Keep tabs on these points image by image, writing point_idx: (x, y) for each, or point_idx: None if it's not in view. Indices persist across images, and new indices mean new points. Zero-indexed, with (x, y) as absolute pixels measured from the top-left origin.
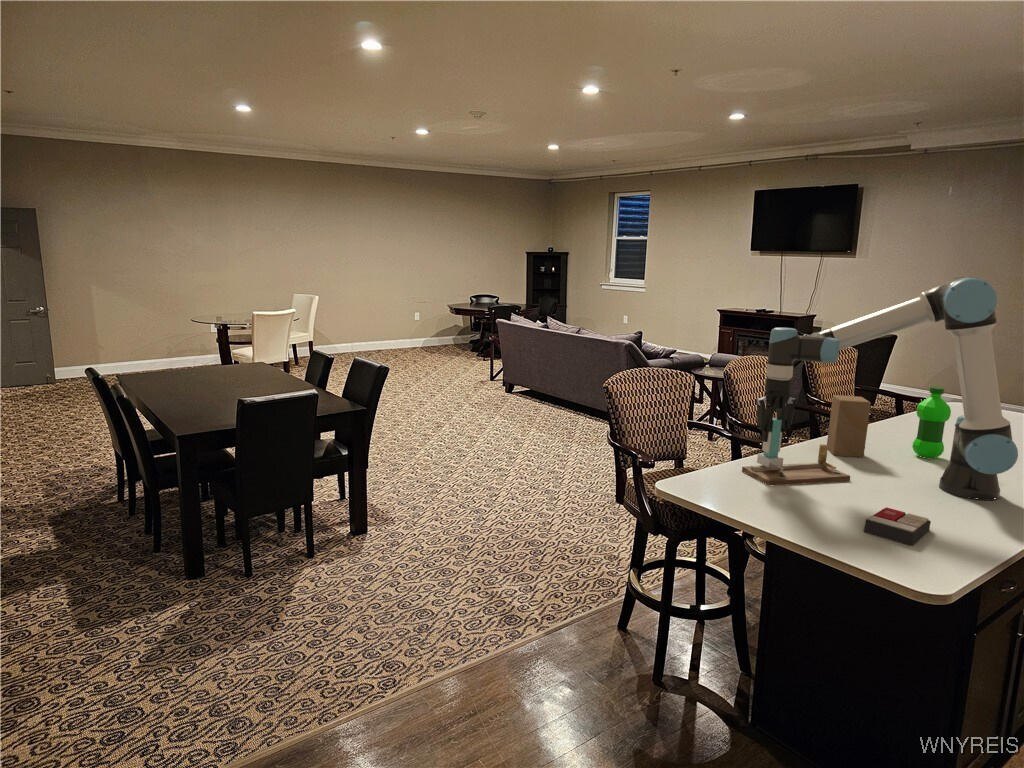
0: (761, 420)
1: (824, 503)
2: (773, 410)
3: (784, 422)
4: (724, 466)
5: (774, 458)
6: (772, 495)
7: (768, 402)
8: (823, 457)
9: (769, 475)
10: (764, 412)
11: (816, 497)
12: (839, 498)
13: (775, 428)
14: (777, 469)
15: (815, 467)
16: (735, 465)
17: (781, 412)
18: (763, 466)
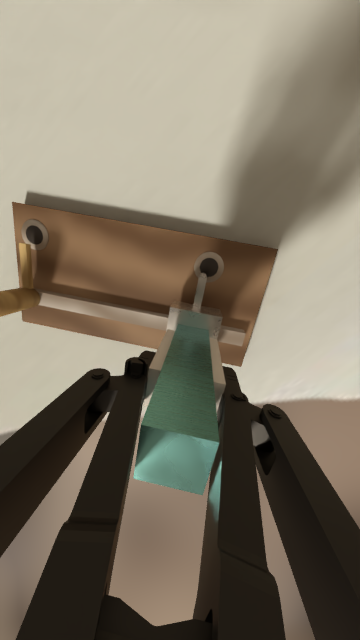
0: (320, 472)
1: (255, 43)
2: (251, 571)
3: (117, 405)
4: None
5: (201, 316)
6: (341, 176)
7: None
8: (17, 291)
9: (234, 287)
10: (352, 569)
11: (229, 109)
12: (167, 74)
13: (194, 389)
14: None
15: (60, 293)
16: None
17: (119, 502)
18: None
